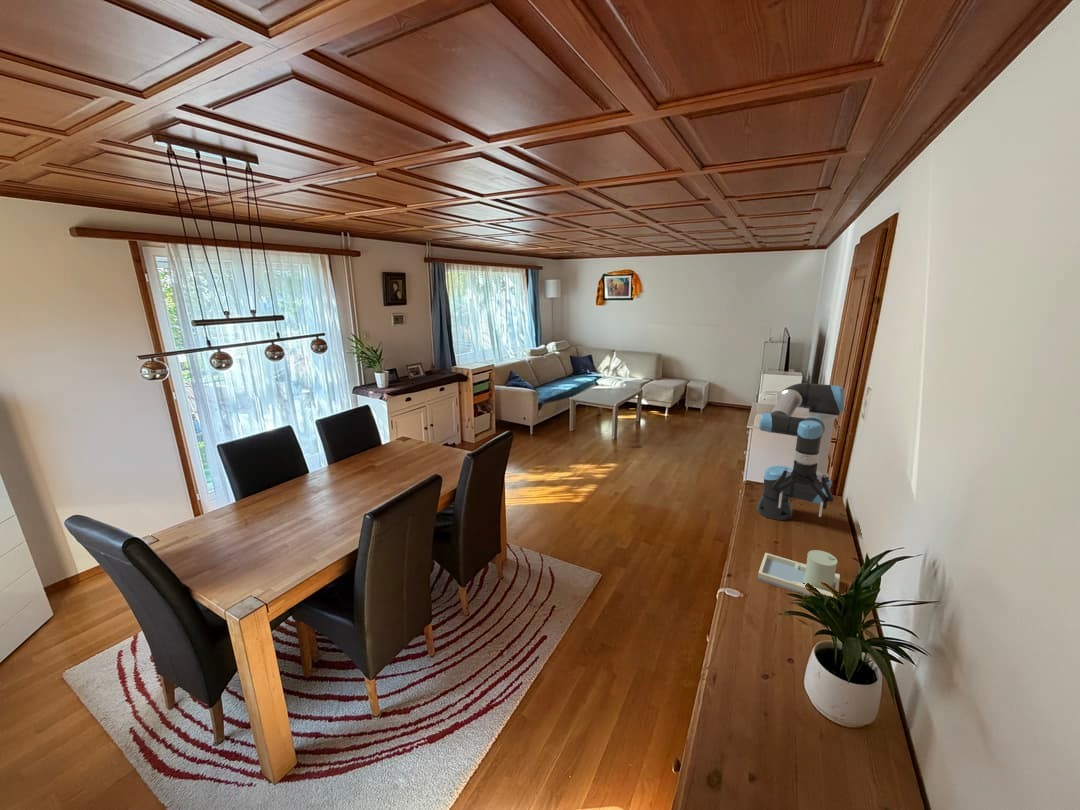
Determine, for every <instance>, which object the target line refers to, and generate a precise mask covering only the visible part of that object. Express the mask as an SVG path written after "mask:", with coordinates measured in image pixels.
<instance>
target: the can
mask: <svg viewBox="0 0 1080 810" xmlns="http://www.w3.org/2000/svg"><path fill="white" fill-rule="evenodd" d="M806 558H807V559H806V563H805V564H806V571H805V577H804V583H805V584H807V583H809V584H810V585H812V586H813V587H816V588H819V589H822V590H825V591H829V589H827V588H826V587H825V586H823V585H822V584H821V582H823V583H826V584H828V585H829V586H831V587H833V584H834V577H835V573H836V571H837V567H838V559H837V558H836V556H834V555H833V554H831V553H829V552H827V551H823V550H818V549H812V550H809V551H808V552H807V557H806ZM829 592H830V591H829Z"/></svg>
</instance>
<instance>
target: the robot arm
mask: <svg viewBox="0 0 1080 810" xmlns="http://www.w3.org/2000/svg"><path fill="white" fill-rule="evenodd" d="M797 408H802V409H803V408H804V409H807V410H808V414H810V416H808V417H806V418H805V417H799V416H798V417H797V416H793V414H794V412H795V410H796V409H797ZM844 412H845V389H844V388H843V387H842V386H840V385H835V384H821V383H809V382H801V383H795V384H792V385H790V386H789V385H788V387H786V388H784V389H783V390H782V391H781V392H780V393H779V395H778V398H777V402H776V404H775V405H774V407H773V409H772V410H771V412H768V413H767V412H766V413H765V412H763V413H761V415H760V418H759V421H758V422H759V423H758V424H759V425H758V427H759V430H760V431H761V432H767V433H773V434H779V435H787V436H792V437H796V443H795V445H796V446H795V451H794V457H793V459H794V460H793V467H788V466H786V465H773V466H770V467H767V468H765V469H766V470H765V471H764V476H763V486H762V487H763V488H762V495H761V497H760V499H759V501H758V503H757V506H756V510H757V512H758V513H759V514H760V515H761V516H763V517H765V518H768V519H771V520H777V521H786V520H790V519H791V518H792V517H793V509H792V504H791V501H790V500H791V499H790V498H792V499H797V500H801V501H806V502H809V503H812V504H814V503H815V504H819V511H818V512H819V513H818V517H819V518H821V517H822V513H823V510H826V509H827V505H828V503H829V502H831V503H832V502H834V495H833V492H832V491H831V487H832V483H833V481H832V479H830V475H829V474H828V472H827V467H828V466H827V465H828V460H829V453H830V448H831V447H830V446H831V441H832V435H833V429H834V424H835V423H834V422H835V420H836V419H837V418H839V417H840V413H844Z"/></svg>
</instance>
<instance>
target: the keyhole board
mask: <svg viewBox="0 0 1080 810" xmlns="http://www.w3.org/2000/svg"><path fill="white" fill-rule="evenodd" d="M806 564H807V563H801V562H798V561H796V560H791V559H788V558H785V557H781V556H778V555H776V554H775V555H774V554H772V553H768V552H764V555H763V558H762V561H761V564H760V567H759V570H758V573H757V580H758V581H761V582H764V583H766V584H767V583H768V584H770V585H773V586H777V587H779V588H783V589H785V590H788V591H792V592H794V591H796V592H795V593H797V592H800V593H803V594H802V595H803V596H806V595H811V594H810V592H809V591H808V590H807V589H806V588H805V585H806V584H803V583H804V577H805V571H806ZM840 577H841V574H840V573H836V572H835V577H834V584H833V588H834V589H835V590H837V591H838V592H840V591H839V590H840ZM814 588H816V587H814ZM816 589H817V590H818V591H819V592H820V593H821V594H823V595H826V596H831V597H833V594H832V593H831V592H829V591H825V590H822V589H819V588H816ZM800 593H799V594H800Z"/></svg>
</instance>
